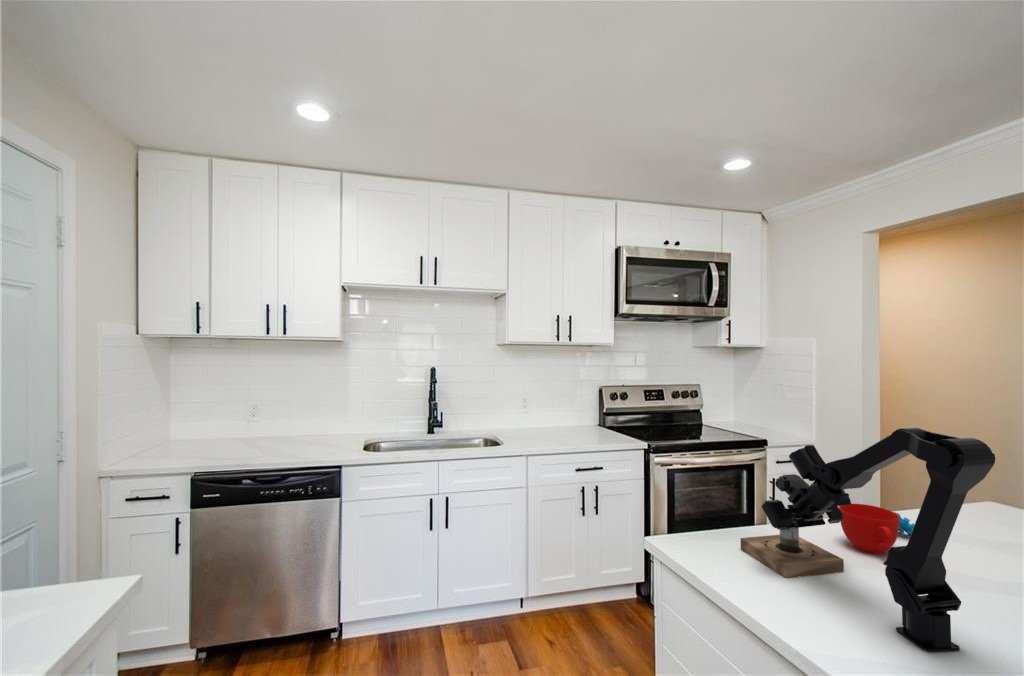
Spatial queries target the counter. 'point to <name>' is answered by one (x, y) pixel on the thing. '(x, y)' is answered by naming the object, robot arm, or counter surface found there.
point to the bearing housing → (792, 557)
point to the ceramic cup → (870, 527)
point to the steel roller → (790, 539)
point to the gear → (905, 525)
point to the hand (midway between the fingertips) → (784, 526)
